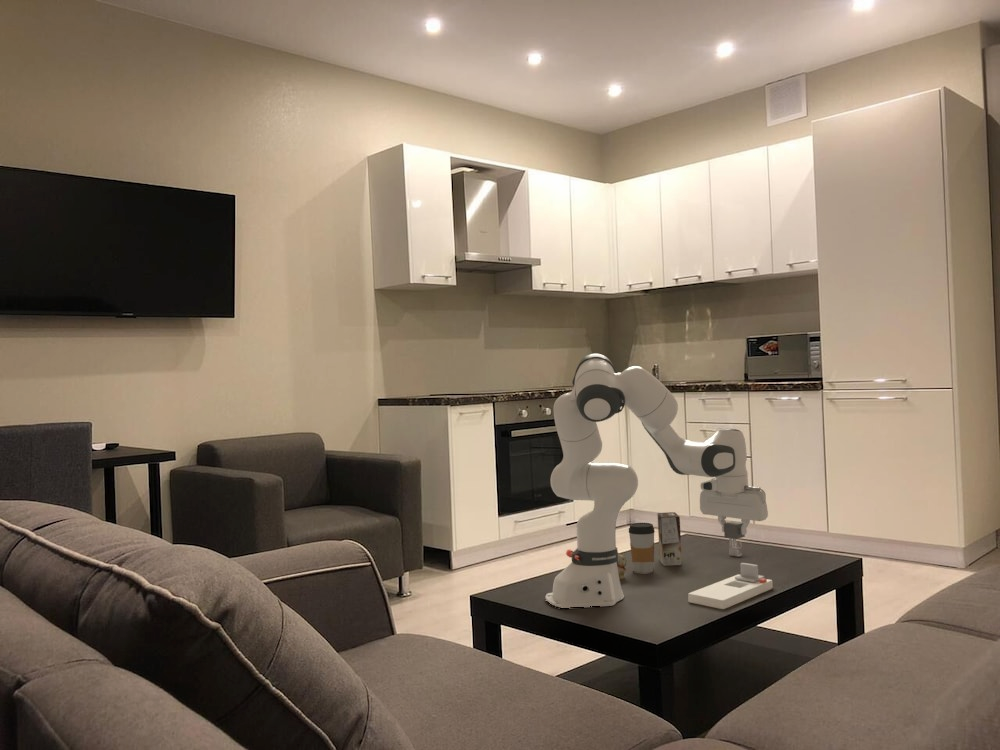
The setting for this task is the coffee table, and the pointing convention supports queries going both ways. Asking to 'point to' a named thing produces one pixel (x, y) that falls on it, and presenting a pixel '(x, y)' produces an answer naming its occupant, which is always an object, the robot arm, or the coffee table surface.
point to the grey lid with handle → (749, 573)
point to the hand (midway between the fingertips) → (734, 533)
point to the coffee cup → (642, 547)
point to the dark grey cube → (733, 530)
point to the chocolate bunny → (621, 566)
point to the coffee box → (669, 538)
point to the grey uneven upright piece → (733, 547)
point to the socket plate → (729, 592)
